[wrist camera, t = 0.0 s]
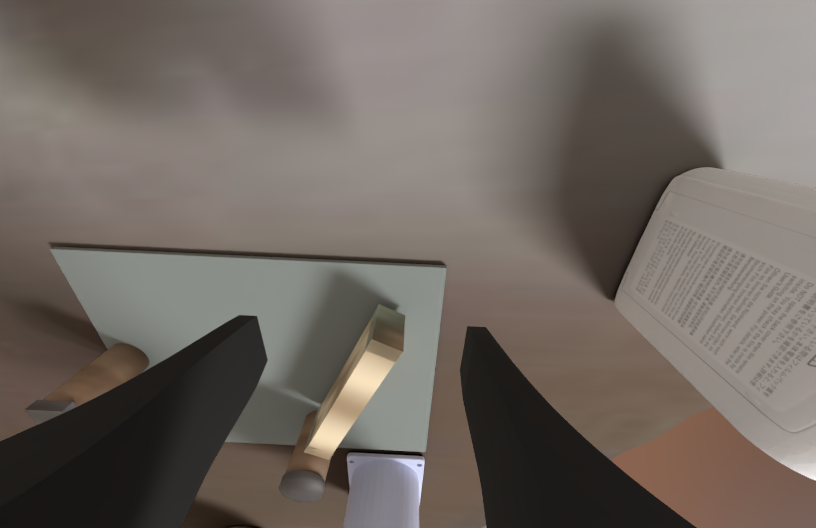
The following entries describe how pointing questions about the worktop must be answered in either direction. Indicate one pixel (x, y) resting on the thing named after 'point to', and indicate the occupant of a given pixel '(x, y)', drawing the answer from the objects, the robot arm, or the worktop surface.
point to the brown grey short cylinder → (305, 470)
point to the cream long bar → (357, 381)
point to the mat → (275, 328)
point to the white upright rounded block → (735, 302)
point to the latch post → (91, 381)
